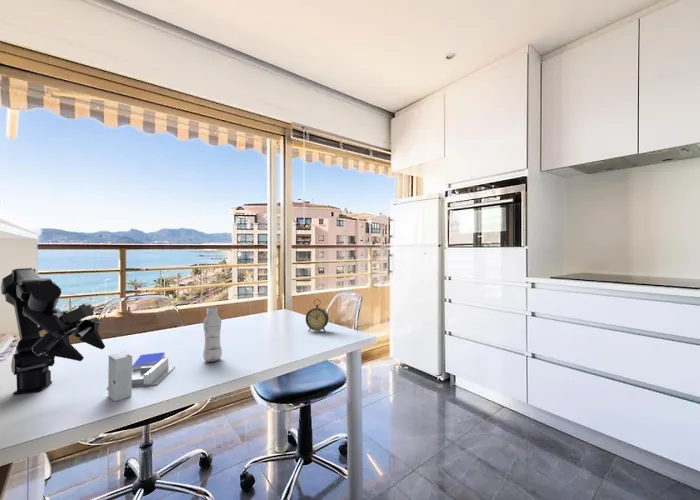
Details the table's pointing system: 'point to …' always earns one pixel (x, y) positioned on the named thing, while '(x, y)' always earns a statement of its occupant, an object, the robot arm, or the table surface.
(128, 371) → the skincare box
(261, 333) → the table surface
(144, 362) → the hard drive
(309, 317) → the alarm clock
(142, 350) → the table surface
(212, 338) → the plastic bottle
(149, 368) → the rail base
